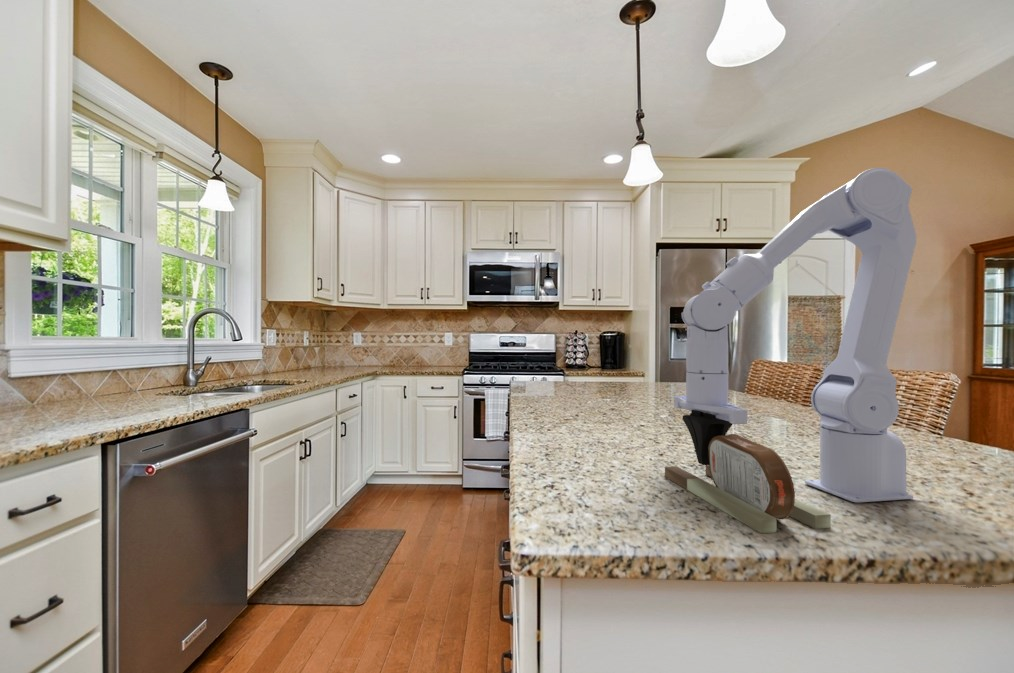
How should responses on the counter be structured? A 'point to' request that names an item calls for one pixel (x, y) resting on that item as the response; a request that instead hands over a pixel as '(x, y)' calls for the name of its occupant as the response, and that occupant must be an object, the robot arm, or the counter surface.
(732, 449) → the tin
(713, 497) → the rail
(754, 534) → the counter surface
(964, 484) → the counter surface
